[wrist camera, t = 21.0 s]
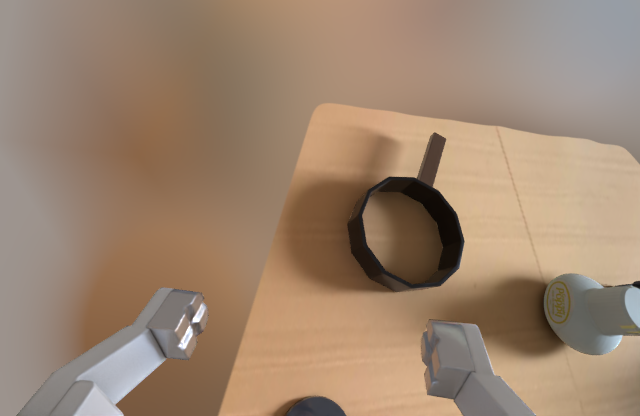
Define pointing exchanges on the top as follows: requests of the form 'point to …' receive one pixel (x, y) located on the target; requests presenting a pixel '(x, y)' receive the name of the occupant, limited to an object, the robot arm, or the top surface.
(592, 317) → the air freshener
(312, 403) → the coaster
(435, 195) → the pan
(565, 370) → the top surface
